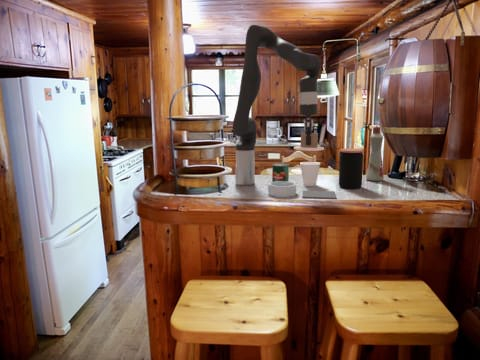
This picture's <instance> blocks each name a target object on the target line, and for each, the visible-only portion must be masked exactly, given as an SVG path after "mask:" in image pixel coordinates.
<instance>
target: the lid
mask: <svg viewBox="0 0 480 360" xmlns="http://www.w3.org/2000/svg"><path fill="white" fill-rule="evenodd" d="M318 139H319V133H318V132H312V135H311V145H306V135H305V132H300V145H295V146H294V147H293V149H294V150H297V151H311V152H312V151H313V152H314V151H315V152H316V151H317V152H320V151H324V150H325V147H324V146H318V143H319V142H318V141H319V140H318Z"/></svg>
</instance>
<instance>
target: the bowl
mask: <svg viewBox="0 0 480 360" xmlns="http://www.w3.org/2000/svg"><path fill="white" fill-rule="evenodd" d="M267 187H268V189H267V191H268V192H267V194H268V195H269V196H271V197H278V198H289V196H290V197H294V196H296V195H297V183H296V182H293V181H289V180H288V181H276V182H272V181H271V182H269V183H268V186H267ZM268 195H267V196H268Z"/></svg>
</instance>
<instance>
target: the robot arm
mask: <svg viewBox="0 0 480 360" xmlns="http://www.w3.org/2000/svg"><path fill="white" fill-rule="evenodd" d="M244 46H245V47H244V61H243V69H242V74H241V79H240V80H241V81H240V86H239V92H238V93H239V94H238V99H237V100H238V101H237V106H236V110H235V113H234V117H233V121H232V132H233V134H234V135H235V136H237V137H239V141H237V143H236V145H235V166H234V168H235V172H234V173H235V176H234V177H235V181H234V182H235V185H239V186H252V185H255V183H256V182H255V175H256V174H255V171H256V170H255V146H256V142H257V123H256V121H255V119H254V118H252V117H250V113H251V109H252V106H253V104H254V102H255V101H256V98H257V97H258V95H259V92H260V87H261V83H262V75H261V73H262V72H261V69H260V66H259V62H258V51H259V48H262V49H263V48H265V49H268V50H272V51H273V52H275V53H276V54H277V56H278V57H280V58H281V59H283V60H284V61H286V62H288V63H290V64H291V66H293V67H294V68H295V69H296V70H299V71H301V72H305V76H304V77H302V78H300V80H299V97H298V98H299V102H298V103H299V107H298V109H299V115H300V116H305V119H303V124H304V125H303V126H304V127H303V129H304V133H305V135H306V145H311V135H312V133H313V132H312V131H313V129H314V128H313V125H314V119H312V116H313V115H315V116H316V115H318V105H319V104H318V100H319V99H318V80H319V76H320V70H321V64H322V63H321V60H320V56H318V55H317V54H314V53H306V52H303V51H302V49H301V48H300V47H298V46H296V45H294V44H293V43H290V41H289V42H288V41H287V40H284V39H282V37H280V36H278V35H277V34H275V32H274V31H272V30H271V29H270V28H269V27H267V26H265V25H264V26H263V25H259V24H254V23H252V24H251V25H250V26H249V27H248V29H247V31H246V34H245V45H244Z"/></svg>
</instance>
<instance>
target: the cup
mask: <svg viewBox="0 0 480 360" xmlns="http://www.w3.org/2000/svg"><path fill="white" fill-rule="evenodd" d="M299 164H300V171H301V178H302V183H303V186H304V187H315V186H317V181H318V176H319V172H320V166H321V164H322V163H321V162H317V161H301V162H300V163H299Z"/></svg>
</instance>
